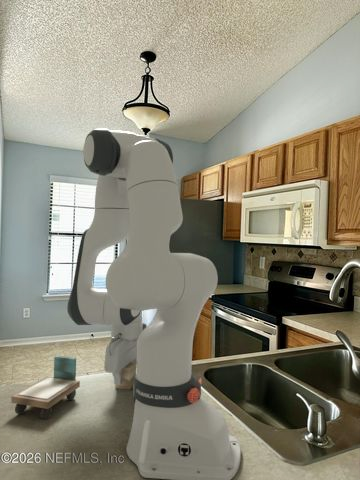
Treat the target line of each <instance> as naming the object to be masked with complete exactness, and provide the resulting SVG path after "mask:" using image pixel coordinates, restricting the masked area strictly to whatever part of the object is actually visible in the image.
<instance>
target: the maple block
mask: <svg viewBox="0 0 360 480" xmlns="http://www.w3.org/2000/svg"><path fill="white" fill-rule="evenodd" d="M120 374H121V377H122V383H121V384H120V385H115V384H114V387H115V388H116V389H117V388H118V389H124V390H131V389H132V388H133V387H134V377H135V375H136V374H137V364H136V363H131V362H130V363H129V364H128V365H126V366H125V367H124V368H123V369H121V373H120Z"/></svg>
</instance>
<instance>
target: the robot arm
mask: <svg viewBox="0 0 360 480" xmlns="http://www.w3.org/2000/svg"><path fill="white" fill-rule="evenodd" d="M82 155H83V161H84V164H85V166H86V168H87V169H88V170H89V171H90V172H91V173H93V174H96V175H98V178H97V182H96V188H95V196H94V197H95V198H94V214H93V219H92V222H91V224H90V226H89V227H88V228H87V229H85V230H84V232H83V233H82V235H81V238H80V243H79V247H78V254H77V259H76V264H75V271H74V276H73V277H74V278H73V281H72V288H71V291H70V295H69V298H68V300H67V301H68V302H67V307H66V310H67V314H68V317H69V318H70V319H71V320H72V321H73V323H74V324H76V325H77V326H93V325H95V326H97V325H98V326H111V328H110V329H111V331H110V337H111V339H110V342H108V343H107V344H106V348H105V356H104V371H105V372H106V373H109V374H112V376H113V384H114V386H115V385H120V384H121V383H122V377H121V374H120V373H121V369H123V368H124V367H125V366H126V365H128V364H129V363H130V362H131V363H136V375H135V377H134V386H133V387H132V388H133V389H132V390H133V391H132V392H133V403H134V411H133V415H132V416H133V418H132V424H131V429H130V432H129V437H128V441H127V444H126V446H125V447H126V450H125V451H126V454H127V456H128V459H129V460H131V461H132V462H133V463H134V464H135V465H136V466H137V468H138V472H139V474H140V475H141V477H143V478H146V479H161V480H232V479H233V478H234V477H235V475H236V474H237V472H238V471H239V468H240V464H241V459H242V454H241V453H242V452H241V445H240V443H239V441H238V439H237V438H236V437H235V436H234V435H231V434H230V433H229V428H228V427H229V426H228V423H227V419H226V417H225V415H224V414H223V413H221V412H220V411H219V410H218V409H217V408H216V407H215V406H213V405H212V404H211V403H210V402H209V401H208V400H206V399H205V398H204V397H203V396H202V377H200V378H199V380H197V378H196V377H194V375H193V374H192V363H193V362H192V361H193V360H192V359H193V342H194V336H195V332H196V328H197V324H198V321H199V319H200V315H201V313H202V310H203V308H204V306H205V304H206V303H207V302H208V300H209V298H210V297H211V296H213V294H214V293H215V291H216V289H217V286H218V283H219V282H218V281H219V280H218V279H219V278H218V271H217V268H216V266H215V264H214V262H212V261H211V260H210V259H209V258H207V257H204V256H201V255H199V254H195V253H192V252H186V253H185V252H171V251H170V241H171V236H172V235H173V234H174V233H175V232H176V231H178V229H179V228H181V226H182V223H183V220H184V215H183V210H182V204H181V198H180V192H179V185H178V180H177V175H176V171H175V169H174V153H173V150H172V148H171V146H170V145H169V144H168V142H165V141H163V140H162V139H159V138H151V137H148V136H145V135H141V134H137V133H134V132H131V131H123V130H110V129H108V128H96V129H95V128H94V129H92V130H91V131H90V132H89V133H88V134H87V135H86V137H85V140H84V144H83V148H82ZM126 240H127V241H126ZM125 241H126V244H125V246H124V248H123V250H122V251H121V253H120V254H119V255H118V256H117V257H116V258H114V260H113V261H112V262H111V264H110V265H109V267H108V269H107V272H106V276H105V288H95V287H94V285H93V282H94V276H95V275H94V274H95V269H96V264H97V260H98V257H99V254H101V252H103V251H104V250H106V249H109V248H110V247H113V246H116V245H118V244H121V243H122V242H125ZM149 310H156V311H155V314H154V316H153V318H152V320H151V321H150V322H149V324H148V325H147V323H144V322H143V317H142V311H149Z"/></svg>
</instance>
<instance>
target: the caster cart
mask: <svg viewBox="0 0 360 480" xmlns="http://www.w3.org/2000/svg"><path fill="white" fill-rule="evenodd" d="M53 359H54V360H53V376H46V377H44V378H41V379H40V380H38V381H36V382H35V383H33V384H31V385H29V386H27V387H25V388H23V389H22V390H20V391H19V392H16V393H15V394H13V395H11V401H10V403H12V404H16V405H15V408H14V412H15V413H16V414H18V415H23V414H24V413H25V412H26V410H27V407H28V406H29V407H35V408H41V410H40V414H39V415H40V418H41V419H46V420H47V419H48V418H50V417H51V414H52V411H53V409H52V408H53V407H52V406H54V405H56V404H57V403H58V402H60V401H62V400H63V399H64V398H66V400H69V401H73V400H74V399H75V397H76V394H77V389H78V388H80V386H81V385H80V384H81V383H80V382H81V381H80V380H76V378H77V376H76V375H77V357H73V356H66V355H65V356H63V355H56V356H55V355H54V357H53Z"/></svg>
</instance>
